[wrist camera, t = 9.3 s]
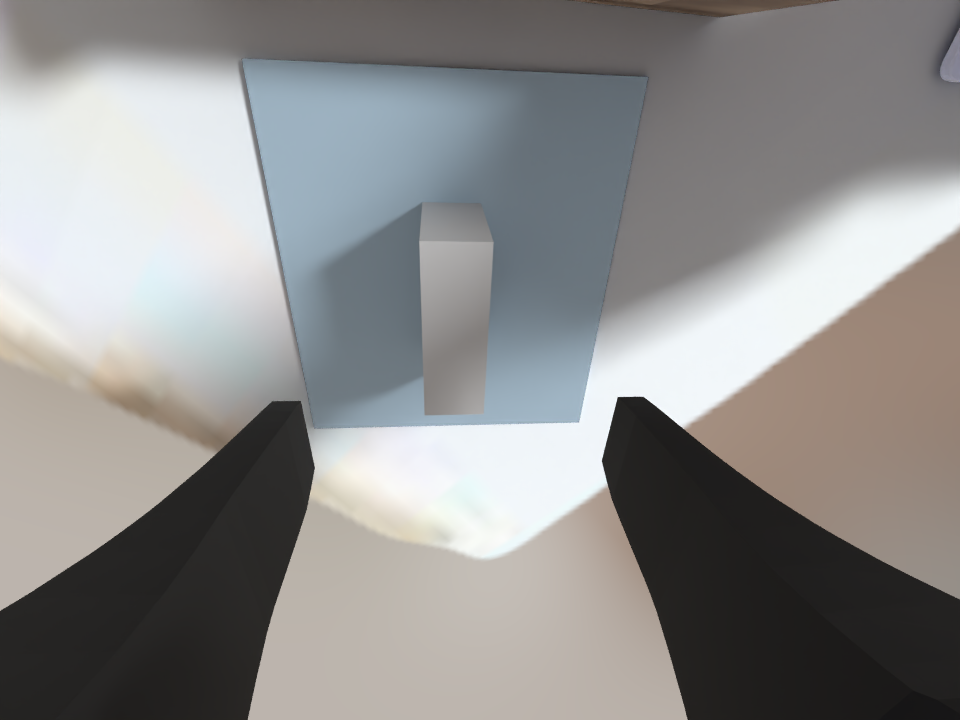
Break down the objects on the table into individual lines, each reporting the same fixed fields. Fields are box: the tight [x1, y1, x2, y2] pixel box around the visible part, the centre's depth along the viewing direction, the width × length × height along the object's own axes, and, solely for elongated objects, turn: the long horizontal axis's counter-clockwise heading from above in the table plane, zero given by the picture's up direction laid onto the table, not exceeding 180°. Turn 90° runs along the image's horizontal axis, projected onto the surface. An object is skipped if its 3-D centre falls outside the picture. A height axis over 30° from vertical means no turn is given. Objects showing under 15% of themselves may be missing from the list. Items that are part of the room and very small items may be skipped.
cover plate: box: [242, 58, 648, 428], centre depth 16 cm, size 12×14×5 cm
